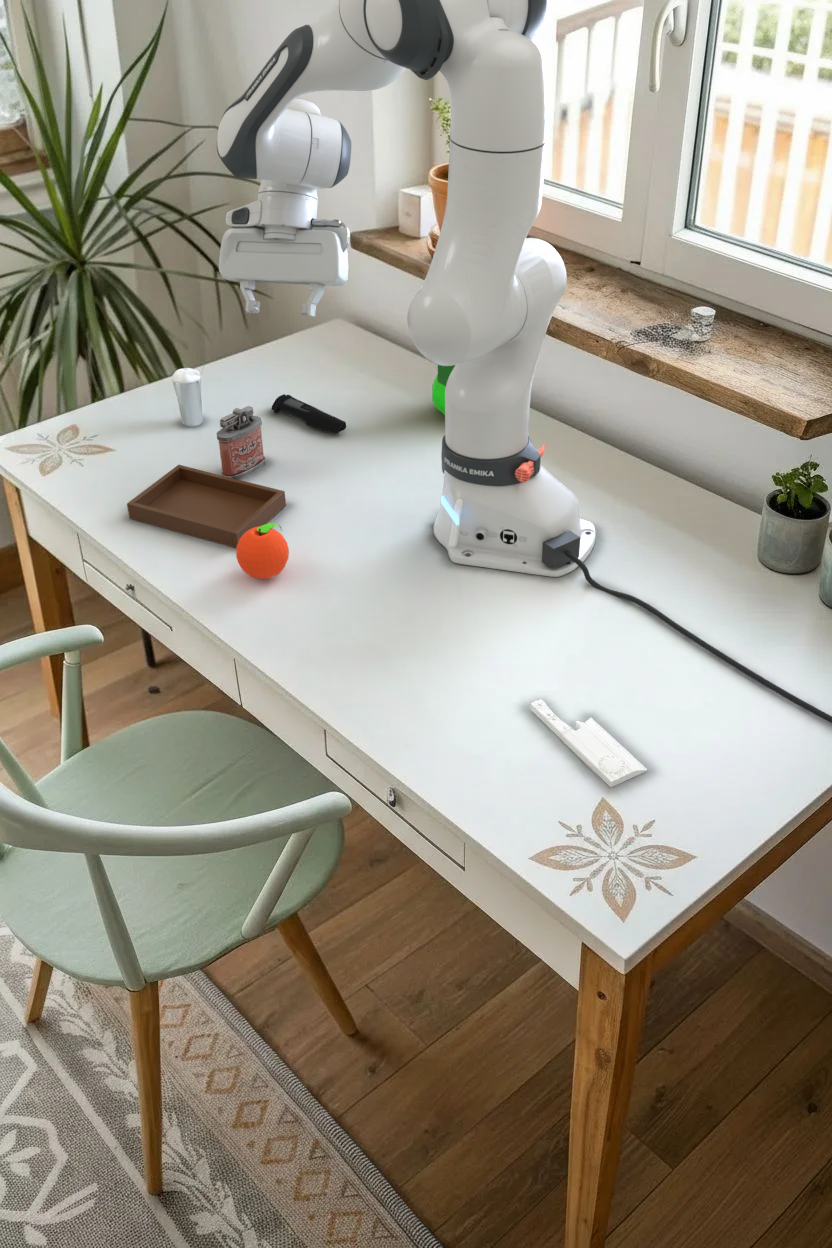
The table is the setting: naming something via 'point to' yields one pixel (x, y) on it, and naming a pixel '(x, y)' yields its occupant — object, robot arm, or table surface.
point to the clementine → (262, 551)
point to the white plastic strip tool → (592, 746)
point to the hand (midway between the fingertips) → (280, 314)
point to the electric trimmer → (308, 414)
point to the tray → (206, 505)
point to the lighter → (241, 443)
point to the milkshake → (188, 395)
